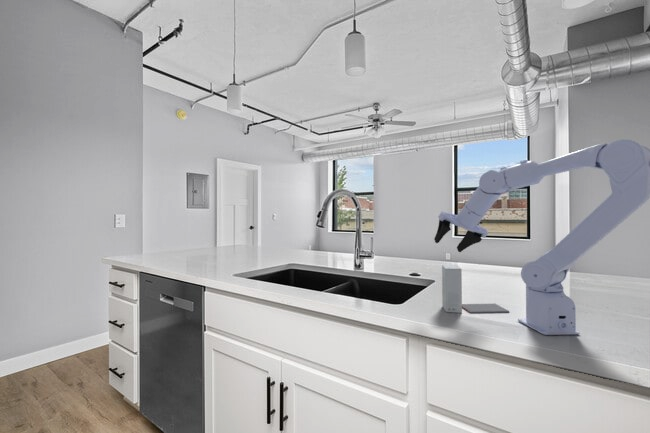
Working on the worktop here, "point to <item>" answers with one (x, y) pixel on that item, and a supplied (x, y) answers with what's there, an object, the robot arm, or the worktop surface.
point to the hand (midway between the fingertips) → (447, 245)
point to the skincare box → (452, 288)
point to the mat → (484, 308)
